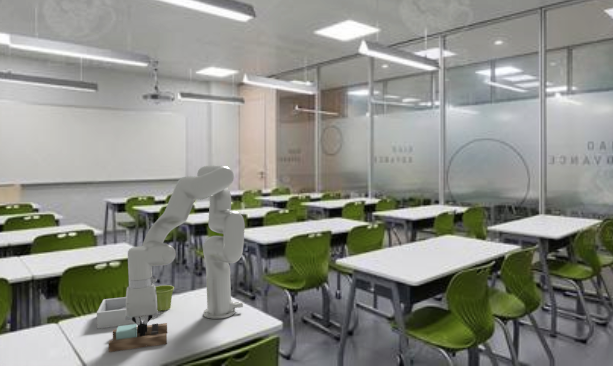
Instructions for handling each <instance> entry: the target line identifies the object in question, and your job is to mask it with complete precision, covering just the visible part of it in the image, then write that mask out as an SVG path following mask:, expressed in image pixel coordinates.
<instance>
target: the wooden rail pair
mask: <svg viewBox="0 0 613 366" xmlns="http://www.w3.org/2000/svg"><path fill="white" fill-rule="evenodd" d="M116 331H117V328H116V329H113V330H112V340H109V341H108V353H111V352H119V351H125V350H127V351H128V350H132V349H133V350H134V349H135V350H136V349H139V348H147V347H154V346H162V345H167V344H168V337H167V335H168V322H164V323H152V324H147V332H146V333H145V336H143V335H142V336H140V333H138V326H137V337H133V338H126V339H118V340H116Z"/></svg>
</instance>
